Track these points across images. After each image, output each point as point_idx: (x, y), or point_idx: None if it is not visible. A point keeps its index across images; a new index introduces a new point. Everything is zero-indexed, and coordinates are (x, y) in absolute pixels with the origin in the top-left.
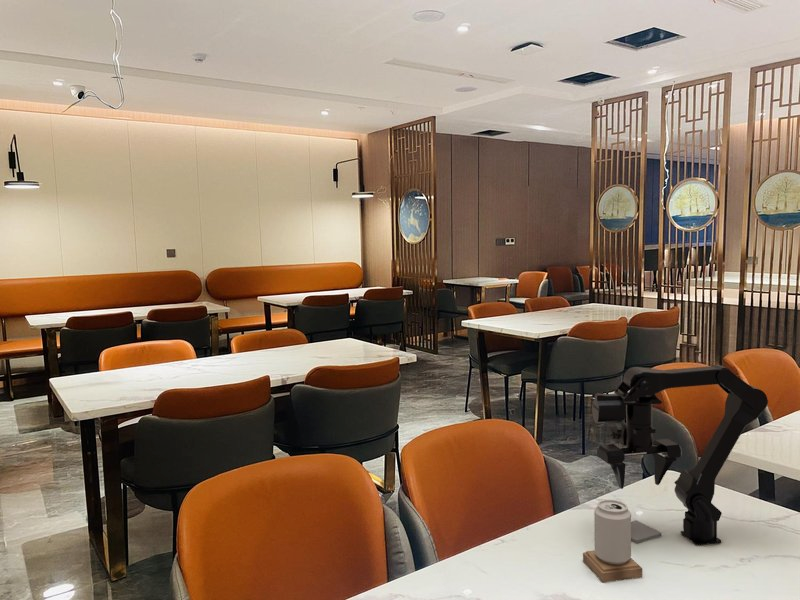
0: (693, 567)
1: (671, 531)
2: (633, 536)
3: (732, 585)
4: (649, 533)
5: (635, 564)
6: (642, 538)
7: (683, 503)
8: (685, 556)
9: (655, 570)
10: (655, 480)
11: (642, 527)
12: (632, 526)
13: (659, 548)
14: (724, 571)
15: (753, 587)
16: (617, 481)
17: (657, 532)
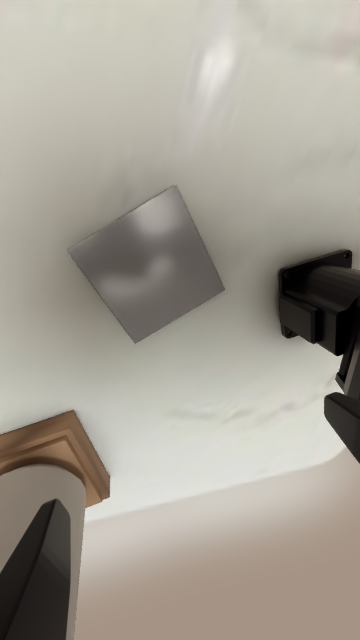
0: (228, 422)
1: (261, 252)
2: (131, 319)
3: (263, 462)
4: (187, 296)
5: (94, 501)
6: (156, 329)
7: (353, 361)
8: (233, 384)
9: (145, 448)
10: (344, 417)
11: (179, 252)
12: (146, 245)
13: (188, 356)
14: (276, 425)
15: (291, 459)
16: (9, 569)
17: (214, 287)
